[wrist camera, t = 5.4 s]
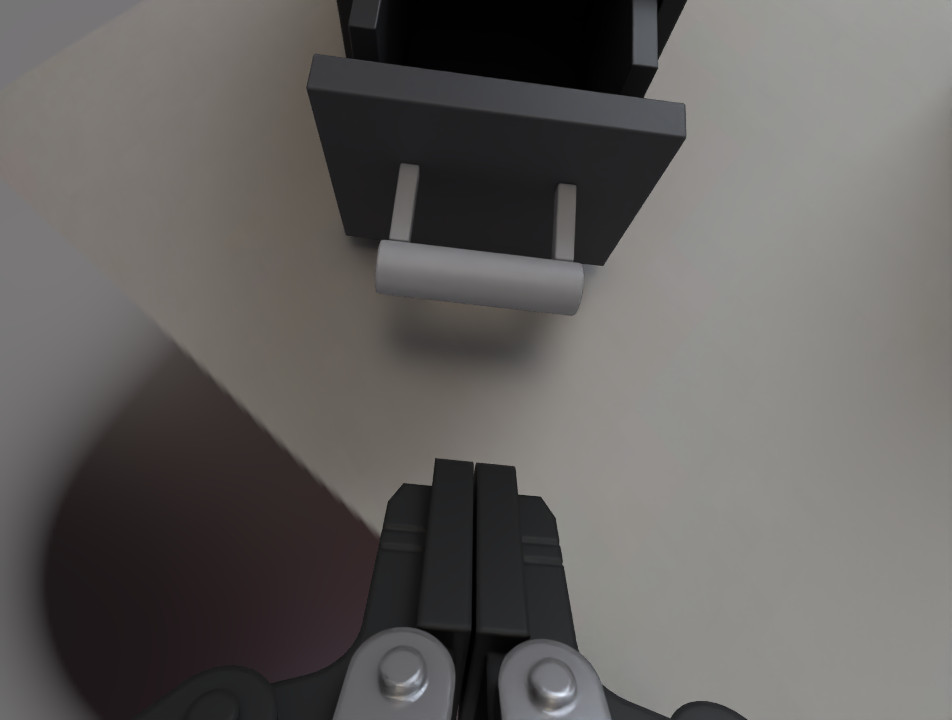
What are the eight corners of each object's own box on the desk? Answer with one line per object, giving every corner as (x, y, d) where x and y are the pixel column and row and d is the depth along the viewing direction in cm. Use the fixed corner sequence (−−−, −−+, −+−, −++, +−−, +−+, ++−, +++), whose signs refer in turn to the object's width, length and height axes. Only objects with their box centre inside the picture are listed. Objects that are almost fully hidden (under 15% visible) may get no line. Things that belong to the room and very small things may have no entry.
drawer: (601, 368, 22) (691, 280, 14) (327, 338, 21) (273, 230, 14) (608, 28, 27) (677, -166, 19) (387, -3, 26) (372, -215, 19)
